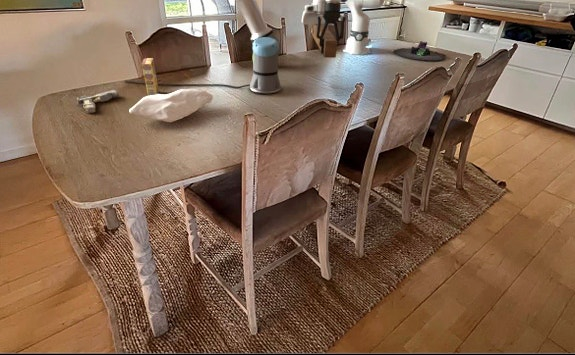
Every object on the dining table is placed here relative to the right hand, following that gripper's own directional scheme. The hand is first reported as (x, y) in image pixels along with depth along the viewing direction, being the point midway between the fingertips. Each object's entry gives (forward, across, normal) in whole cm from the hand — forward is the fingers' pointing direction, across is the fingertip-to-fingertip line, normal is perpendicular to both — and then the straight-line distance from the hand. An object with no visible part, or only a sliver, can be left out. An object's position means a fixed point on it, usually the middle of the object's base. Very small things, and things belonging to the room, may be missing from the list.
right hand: (318, 33), depth 212 cm
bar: (+2, 0, +19) cm, 19 cm away
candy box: (+17, +83, +58) cm, 102 cm away
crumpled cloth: (+17, +70, +80) cm, 107 cm away
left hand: (+2, 0, +38) cm, 38 cm away
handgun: (+17, +102, +69) cm, 124 cm away
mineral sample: (+18, -74, -27) cm, 81 cm away
